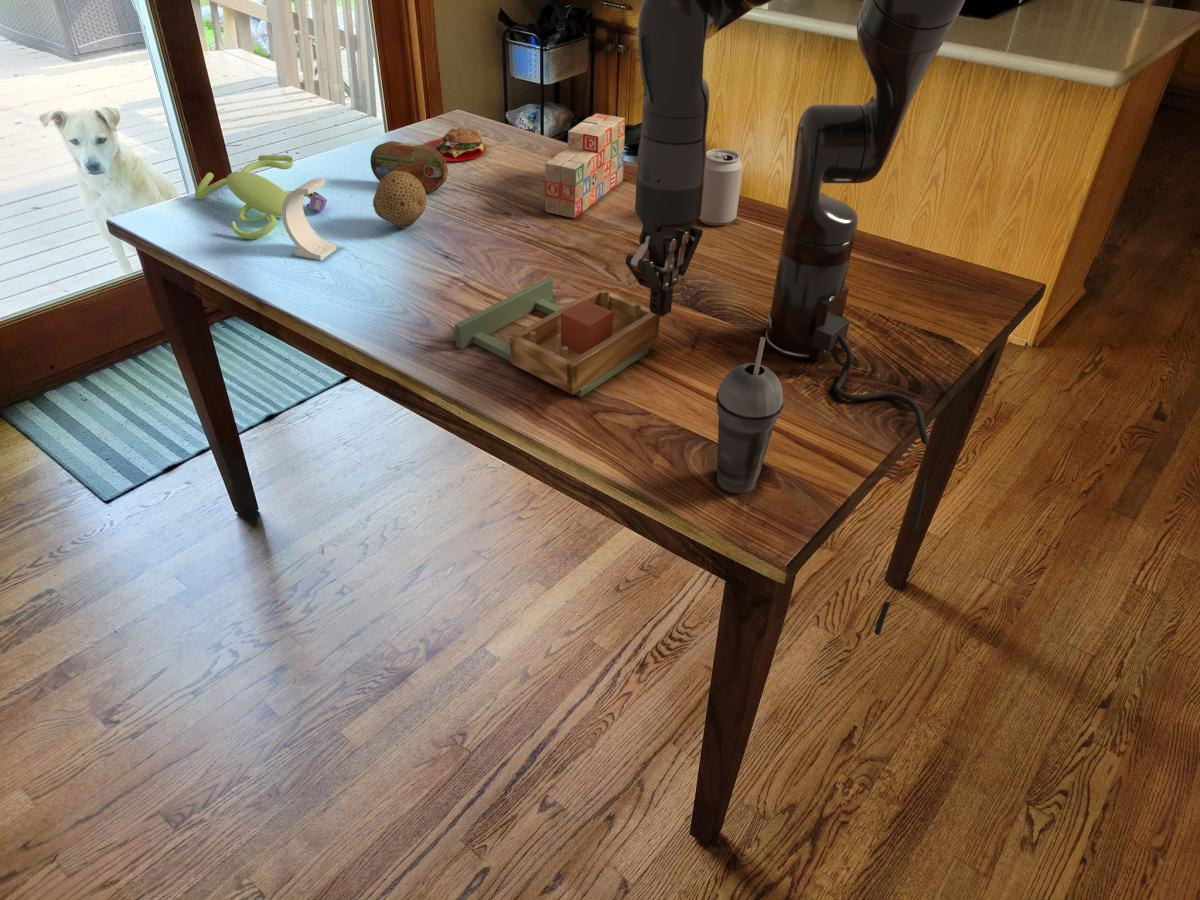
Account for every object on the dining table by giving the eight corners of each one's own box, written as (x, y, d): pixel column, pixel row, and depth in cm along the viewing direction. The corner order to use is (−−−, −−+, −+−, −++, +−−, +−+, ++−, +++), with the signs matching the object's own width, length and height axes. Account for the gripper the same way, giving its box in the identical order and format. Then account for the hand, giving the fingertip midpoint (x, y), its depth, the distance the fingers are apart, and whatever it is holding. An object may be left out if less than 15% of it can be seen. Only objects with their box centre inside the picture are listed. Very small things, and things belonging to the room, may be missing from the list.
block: (612, 343, 119) (613, 311, 116) (588, 358, 116) (589, 325, 113) (584, 331, 122) (584, 299, 119) (560, 345, 119) (560, 313, 115)
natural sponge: (435, 235, 150) (429, 179, 144) (383, 243, 148) (375, 186, 142) (423, 215, 157) (417, 160, 151) (373, 221, 154) (365, 166, 148)
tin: (372, 185, 167) (366, 141, 162) (380, 179, 170) (374, 135, 164) (444, 196, 164) (440, 151, 159) (451, 190, 166) (447, 146, 161)
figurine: (285, 173, 171) (280, 144, 167) (346, 219, 155) (340, 188, 151) (189, 194, 162) (181, 164, 158) (243, 245, 146) (235, 213, 142)
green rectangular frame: (657, 346, 124) (659, 324, 122) (569, 405, 112) (569, 382, 110) (548, 297, 134) (548, 276, 132) (456, 347, 123) (454, 324, 120)
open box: (658, 339, 123) (660, 306, 120) (572, 394, 112) (572, 360, 108) (598, 312, 128) (599, 281, 125) (510, 363, 117) (509, 330, 114)
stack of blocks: (575, 219, 157) (575, 151, 150) (544, 212, 159) (543, 145, 152) (623, 180, 173) (626, 116, 165) (594, 174, 175) (596, 111, 167)
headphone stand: (321, 260, 142) (307, 189, 135) (289, 254, 144) (274, 183, 136) (337, 249, 146) (324, 178, 138) (306, 243, 147) (291, 173, 140)
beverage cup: (761, 461, 104) (788, 314, 92) (773, 501, 99) (803, 351, 86) (701, 460, 104) (720, 313, 92) (709, 501, 98) (730, 351, 86)
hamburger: (462, 135, 190) (460, 106, 187) (499, 153, 182) (498, 124, 178) (406, 148, 183) (403, 119, 179) (442, 168, 175) (439, 138, 171)
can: (734, 229, 156) (742, 163, 148) (692, 225, 157) (698, 159, 149) (737, 213, 161) (745, 148, 154) (697, 208, 162) (703, 144, 155)
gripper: (663, 201, 91) (653, 344, 101) (730, 166, 99) (714, 302, 110) (607, 183, 94) (603, 323, 105) (676, 151, 102) (666, 284, 113)
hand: (660, 312), depth 107 cm, fingers closed
